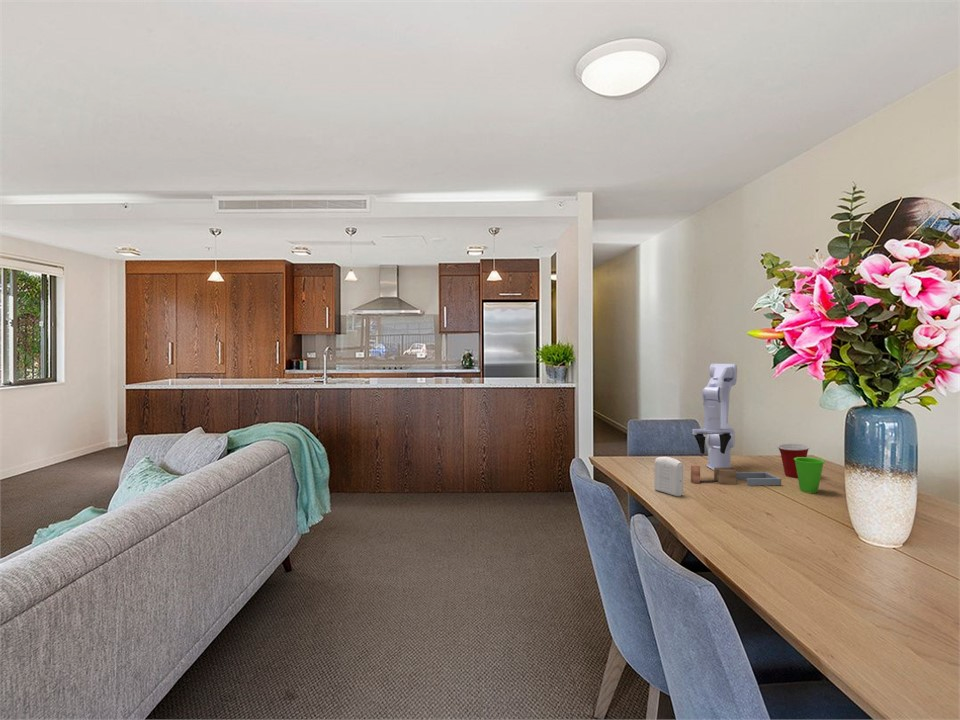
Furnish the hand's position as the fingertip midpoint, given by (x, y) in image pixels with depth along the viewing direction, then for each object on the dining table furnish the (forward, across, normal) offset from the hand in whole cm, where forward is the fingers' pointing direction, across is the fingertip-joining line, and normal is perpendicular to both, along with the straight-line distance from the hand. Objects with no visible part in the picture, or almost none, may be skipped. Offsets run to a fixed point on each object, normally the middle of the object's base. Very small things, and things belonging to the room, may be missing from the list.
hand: (712, 453), depth 194 cm
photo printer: (+10, -23, -18) cm, 31 cm away
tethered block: (+10, -2, -5) cm, 11 cm away
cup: (+10, +26, -17) cm, 33 cm away
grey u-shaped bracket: (+10, +14, -5) cm, 18 cm away
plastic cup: (+10, +33, +4) cm, 35 cm away
